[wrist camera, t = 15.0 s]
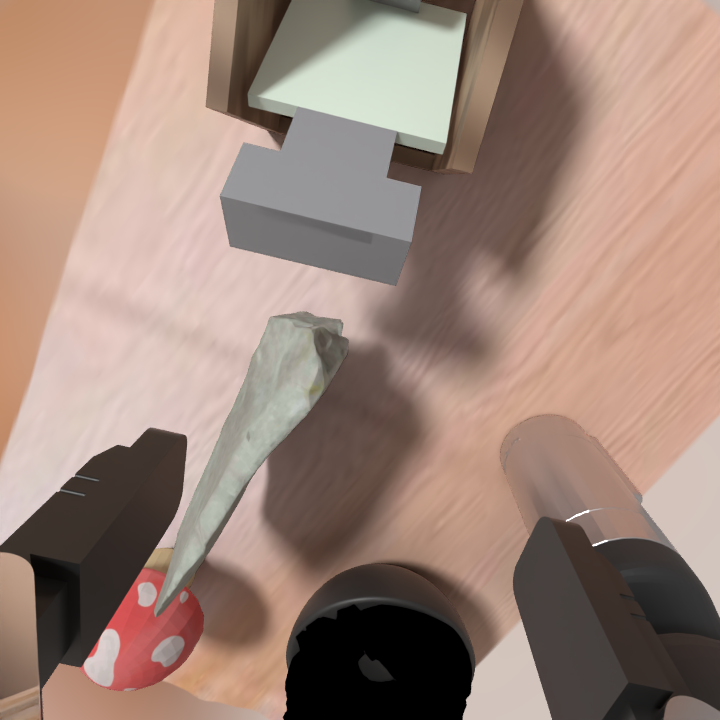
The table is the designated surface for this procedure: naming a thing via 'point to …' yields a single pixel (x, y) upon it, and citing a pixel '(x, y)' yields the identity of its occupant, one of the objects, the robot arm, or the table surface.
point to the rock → (256, 430)
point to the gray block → (402, 4)
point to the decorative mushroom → (146, 633)
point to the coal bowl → (378, 650)
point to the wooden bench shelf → (466, 130)
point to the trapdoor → (344, 134)
